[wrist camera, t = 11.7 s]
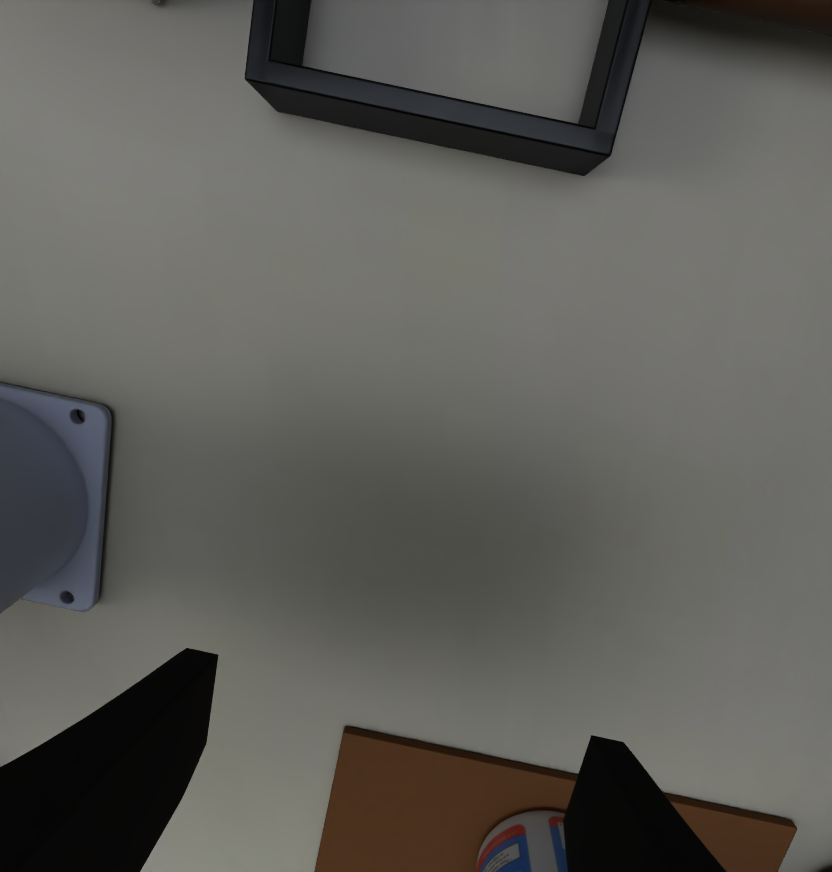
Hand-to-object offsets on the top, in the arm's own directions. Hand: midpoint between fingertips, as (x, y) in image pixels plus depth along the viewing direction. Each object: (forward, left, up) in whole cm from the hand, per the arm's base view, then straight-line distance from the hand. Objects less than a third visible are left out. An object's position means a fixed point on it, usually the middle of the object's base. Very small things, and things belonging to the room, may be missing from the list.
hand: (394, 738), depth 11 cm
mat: (+8, -13, -10) cm, 18 cm away
